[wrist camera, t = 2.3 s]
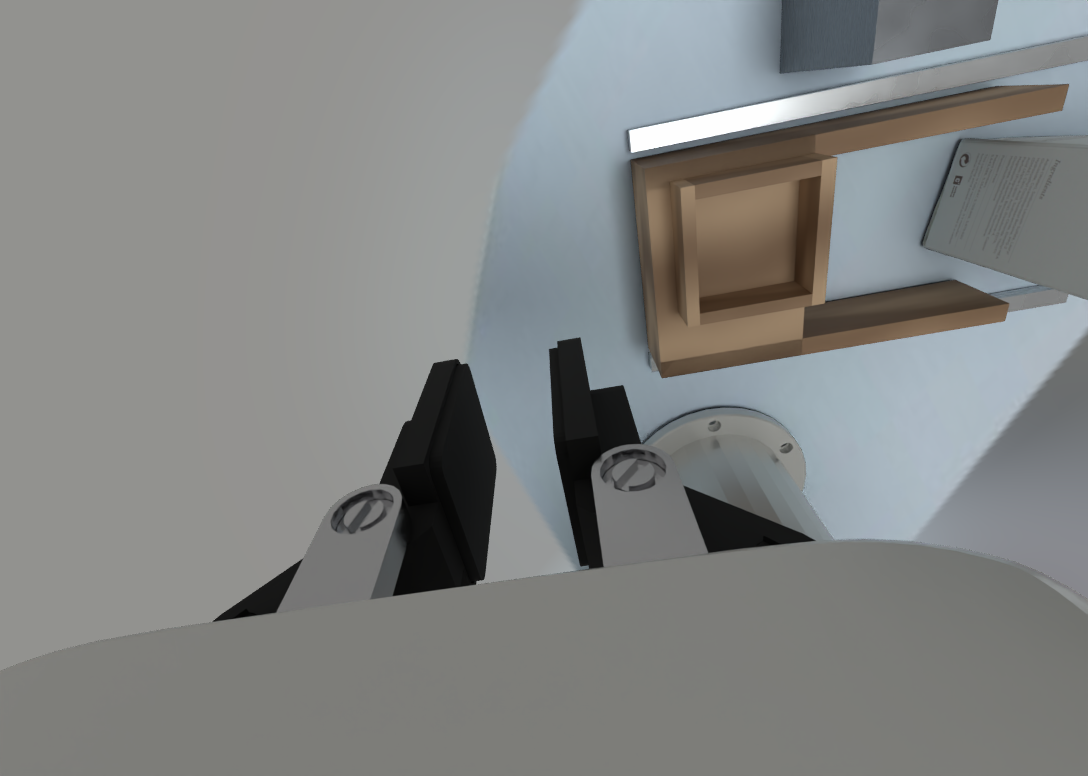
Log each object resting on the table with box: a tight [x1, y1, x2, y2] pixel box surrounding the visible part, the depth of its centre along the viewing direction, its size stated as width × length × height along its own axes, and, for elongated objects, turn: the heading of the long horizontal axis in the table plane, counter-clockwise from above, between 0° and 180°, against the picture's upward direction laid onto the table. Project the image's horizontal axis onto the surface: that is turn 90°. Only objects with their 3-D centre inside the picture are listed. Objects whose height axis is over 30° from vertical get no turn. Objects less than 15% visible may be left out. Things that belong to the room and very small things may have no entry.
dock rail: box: [627, 35, 1088, 372], centre depth 27 cm, size 14×26×3 cm, turn 101°
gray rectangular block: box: [780, 0, 998, 73], centre depth 21 cm, size 4×4×8 cm
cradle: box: [631, 84, 1069, 378], centre depth 26 cm, size 11×18×6 cm, turn 101°
